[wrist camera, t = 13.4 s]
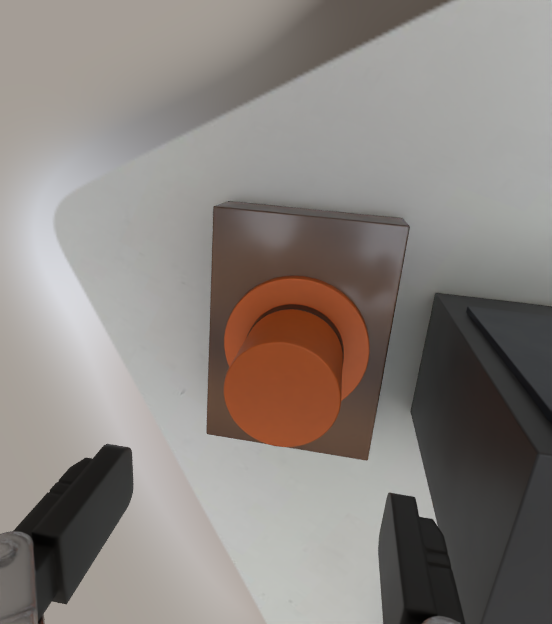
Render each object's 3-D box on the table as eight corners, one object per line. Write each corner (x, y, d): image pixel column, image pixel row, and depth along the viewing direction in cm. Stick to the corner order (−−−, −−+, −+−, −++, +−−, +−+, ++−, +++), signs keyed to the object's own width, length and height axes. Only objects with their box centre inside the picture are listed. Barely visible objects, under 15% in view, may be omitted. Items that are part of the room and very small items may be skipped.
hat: (231, 265, 24) (196, 297, 18) (381, 287, 23) (391, 326, 18) (222, 395, 27) (189, 455, 21) (356, 418, 26) (357, 488, 20)
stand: (227, 200, 26) (213, 205, 23) (403, 218, 25) (410, 225, 22) (219, 409, 30) (206, 434, 28) (366, 432, 29) (367, 461, 26)
